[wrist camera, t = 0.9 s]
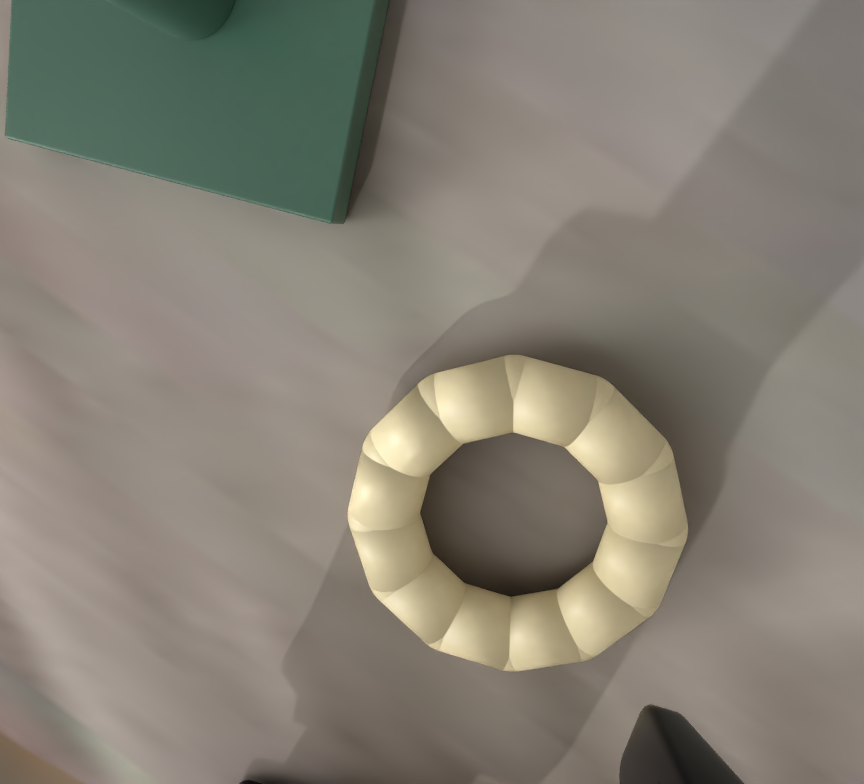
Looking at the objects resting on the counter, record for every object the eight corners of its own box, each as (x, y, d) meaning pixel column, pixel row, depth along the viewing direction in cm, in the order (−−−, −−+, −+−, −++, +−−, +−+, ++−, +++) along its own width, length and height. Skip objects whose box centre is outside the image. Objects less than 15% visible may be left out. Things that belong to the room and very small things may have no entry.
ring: (613, 674, 19) (624, 724, 17) (334, 589, 20) (315, 628, 18) (722, 402, 17) (748, 425, 15) (399, 315, 17) (384, 326, 15)
